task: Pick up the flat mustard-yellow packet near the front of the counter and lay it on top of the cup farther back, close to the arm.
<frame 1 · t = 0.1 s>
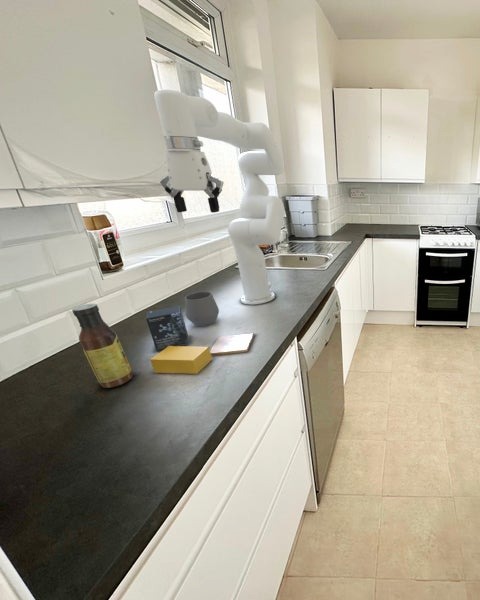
hand: (198, 211, 90), 37 cm above the countertop, tool pointing down, fingers open, 9 cm apart
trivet: (232, 345, 92), on the countertop
cup: (205, 323, 106), on the countertop
packet: (184, 365, 82), on the countertop
box: (173, 344, 93), on the countertop
sauce bottle: (117, 381, 76), on the countertop
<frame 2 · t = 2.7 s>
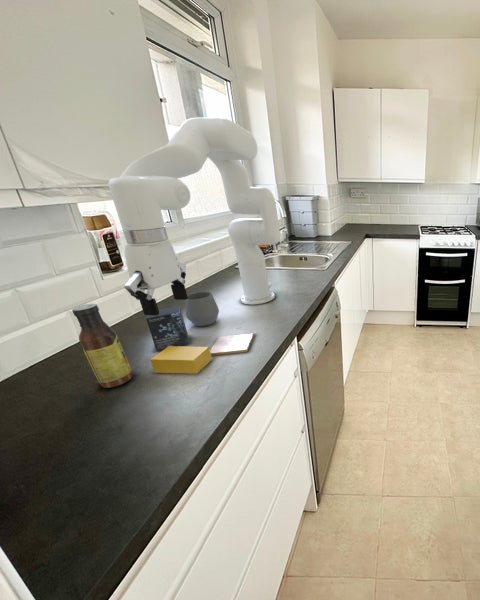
hand: (167, 306, 76), 17 cm above the countertop, tool pointing down, fingers open, 9 cm apart
nothing on the countertop moved.
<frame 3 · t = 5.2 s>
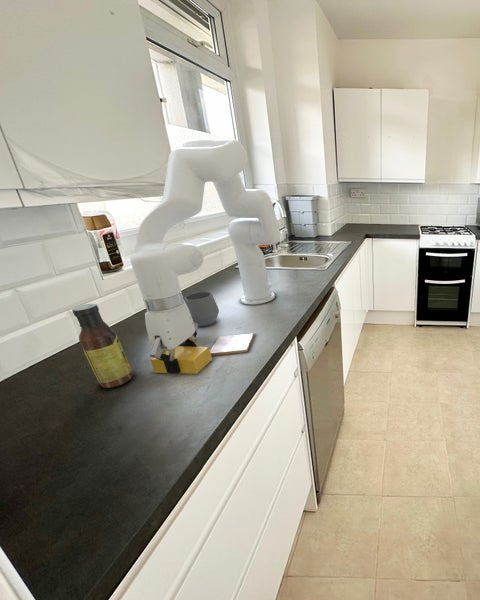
hand: (183, 363, 82), 1 cm above the countertop, tool pointing down, fingers closed on packet, 6 cm apart
packet: (184, 365, 82), on the countertop, touching gripper
everything else where it was.
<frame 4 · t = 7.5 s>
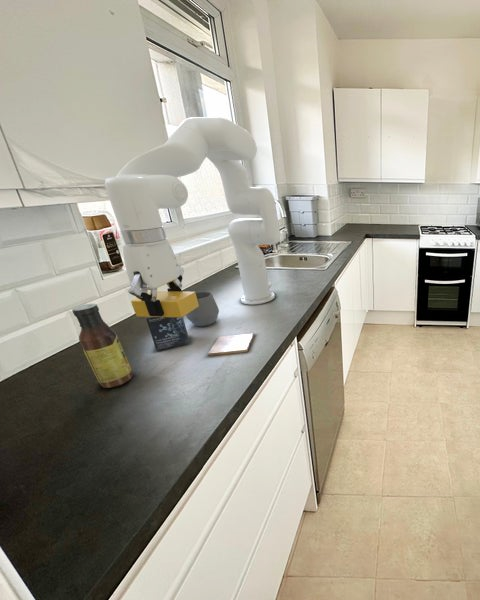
hand: (168, 308, 76), 16 cm above the countertop, tool pointing down, fingers closed on packet, 6 cm apart
packet: (168, 311, 76), point 16 cm above the countertop, touching gripper
everything else where it was.
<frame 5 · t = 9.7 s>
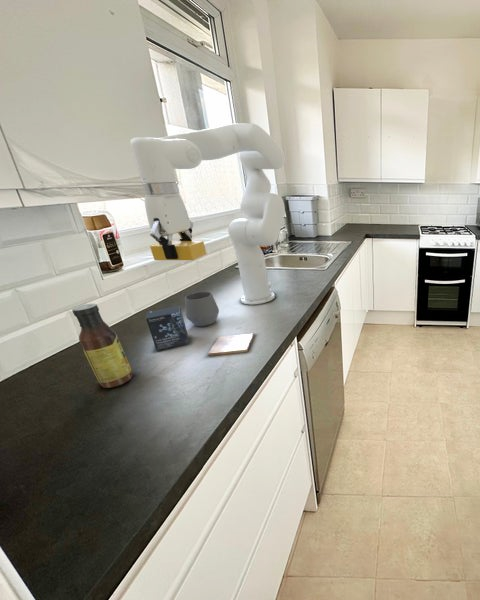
hand: (180, 254, 90), 25 cm above the countertop, tool pointing down, fingers closed on packet, 6 cm apart
packet: (181, 257, 90), point 25 cm above the countertop, touching gripper
everything else where it was.
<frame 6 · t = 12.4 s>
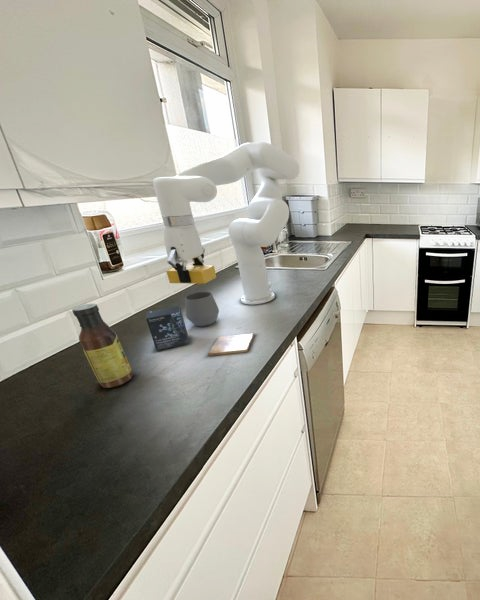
hand: (193, 278, 99), 16 cm above the countertop, tool pointing down, fingers closed on packet, 6 cm apart
packet: (193, 280, 100), point 15 cm above the countertop, touching gripper
everything else where it was.
when the fingers open (11 cm above the countertop, at t = 14.2 s): packet stays where it is, resting on cup.
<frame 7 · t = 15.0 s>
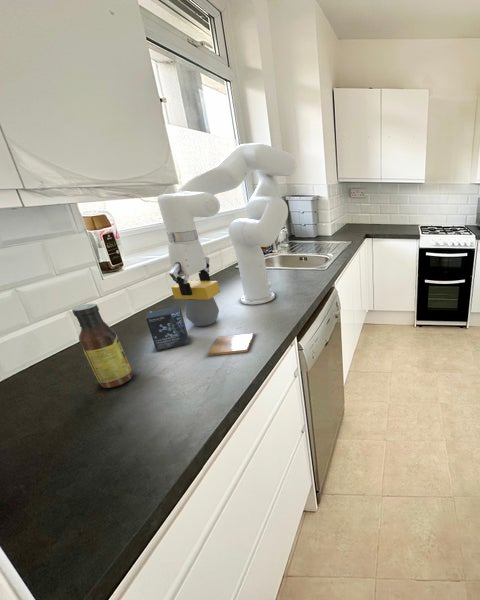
hand: (197, 289, 101), 12 cm above the countertop, tool pointing down, fingers open, 9 cm apart
cup: (205, 323, 106), on the countertop, touching packet
packet: (197, 295, 102), point 10 cm above the countertop, touching cup
everything else where it was.
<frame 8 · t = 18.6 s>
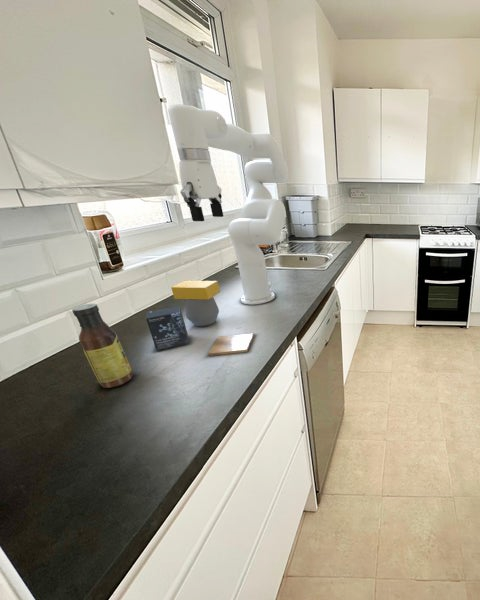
hand: (208, 218, 94), 34 cm above the countertop, tool pointing down, fingers open, 9 cm apart
nothing on the countertop moved.
at the end: packet 0.1 cm off-centre on the cup, point 10.2 cm above the cup's base; packet tilted 0°; the gripper is holding nothing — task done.
